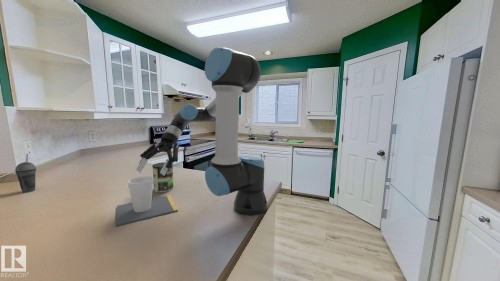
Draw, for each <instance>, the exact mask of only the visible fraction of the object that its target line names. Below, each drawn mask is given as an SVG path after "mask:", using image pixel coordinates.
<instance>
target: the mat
mask: <svg viewBox="0 0 500 281" xmlns="http://www.w3.org/2000/svg"><path fill="white" fill-rule="evenodd" d="M116 207H117V208H116V217H115V227H120V226H124V225H129V224H132V223H136V222H140V221H143V220H148V219H151V218H156V217H160V216H164V215H168V214H172V213H176V212H178V211H179V209H178V207H177V206H176V203H175V201H174V200H173V198H172V196H171V195H170V194H168V195H164V196H158V197H154V198H152V200H151V208H150V209H149V210H147V211H144V212H135V211H134V208H133V203H132V202H129V203H123V204H118V205H116Z"/></svg>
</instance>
